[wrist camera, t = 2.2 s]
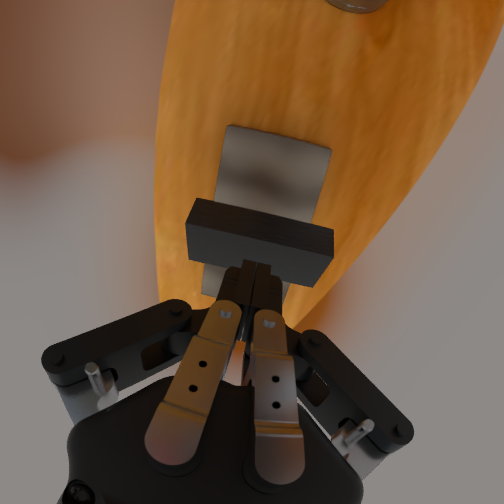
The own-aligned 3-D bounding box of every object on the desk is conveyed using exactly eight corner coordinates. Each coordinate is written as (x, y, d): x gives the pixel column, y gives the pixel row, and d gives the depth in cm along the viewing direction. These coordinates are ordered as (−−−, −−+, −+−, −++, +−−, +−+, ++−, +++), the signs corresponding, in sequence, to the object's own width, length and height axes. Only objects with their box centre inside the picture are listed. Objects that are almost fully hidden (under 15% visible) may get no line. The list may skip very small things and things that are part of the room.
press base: (230, 124, 30) (205, 132, 20) (329, 148, 30) (351, 167, 20) (204, 285, 42) (183, 337, 32) (280, 303, 42) (277, 358, 32)
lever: (204, 181, 18) (185, 223, 16) (333, 211, 18) (333, 257, 16) (205, 304, 35) (198, 331, 33) (272, 319, 35) (267, 347, 33)
